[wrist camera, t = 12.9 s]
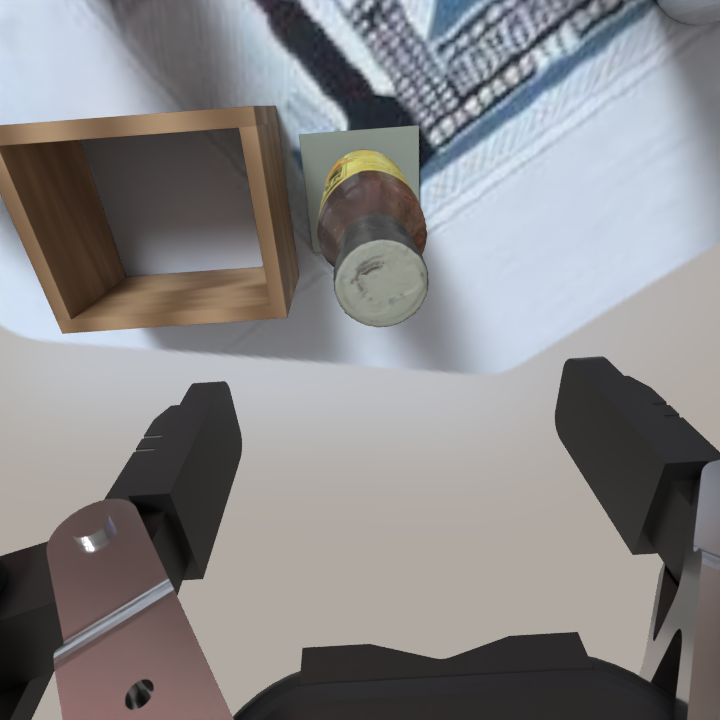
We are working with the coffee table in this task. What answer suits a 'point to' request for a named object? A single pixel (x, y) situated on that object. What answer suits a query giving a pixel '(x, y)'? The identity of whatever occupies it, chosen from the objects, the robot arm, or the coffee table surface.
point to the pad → (332, 146)
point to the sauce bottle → (373, 239)
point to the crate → (95, 241)
